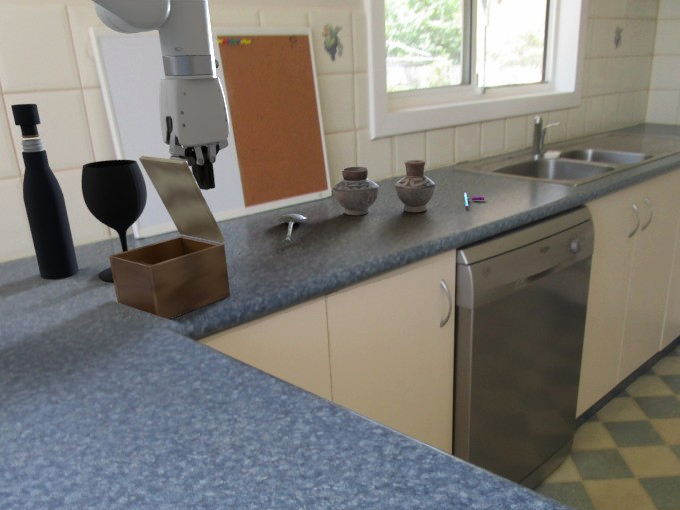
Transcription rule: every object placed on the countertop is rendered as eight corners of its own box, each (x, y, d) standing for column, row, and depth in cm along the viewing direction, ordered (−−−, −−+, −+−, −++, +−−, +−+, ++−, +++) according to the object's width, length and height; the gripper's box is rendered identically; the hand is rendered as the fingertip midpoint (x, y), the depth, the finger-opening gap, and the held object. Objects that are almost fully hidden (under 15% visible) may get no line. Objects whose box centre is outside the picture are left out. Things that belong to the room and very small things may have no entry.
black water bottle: (53, 281, 118) (15, 106, 107) (33, 275, 121) (-6, 105, 111) (86, 271, 123) (52, 103, 112) (66, 266, 126) (32, 102, 116)
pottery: (439, 214, 159) (439, 164, 155) (334, 219, 156) (331, 168, 152) (431, 204, 169) (431, 156, 165) (333, 208, 167) (330, 161, 163)
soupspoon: (308, 223, 156) (280, 225, 156) (306, 209, 155) (278, 211, 155) (302, 245, 136) (270, 248, 135) (300, 229, 134) (268, 232, 134)
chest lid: (182, 163, 97) (202, 148, 99) (138, 158, 102) (158, 144, 105) (222, 243, 106) (239, 228, 108) (179, 234, 111) (197, 220, 114)
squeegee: (486, 205, 163) (466, 205, 163) (486, 208, 163) (466, 208, 164) (482, 192, 177) (464, 192, 177) (482, 195, 177) (464, 195, 178)
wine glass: (128, 285, 115) (107, 170, 108) (85, 278, 119) (63, 166, 112) (171, 268, 124) (155, 160, 117) (130, 262, 128) (112, 157, 121)
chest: (160, 323, 99) (151, 267, 96) (118, 309, 105) (108, 255, 101) (230, 295, 109) (224, 244, 106) (189, 284, 115) (182, 235, 112)
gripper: (212, 66, 109) (225, 178, 115) (131, 70, 97) (151, 194, 104) (243, 66, 104) (255, 182, 111) (163, 70, 93) (182, 199, 100)
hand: (205, 188), depth 107 cm, fingers closed
